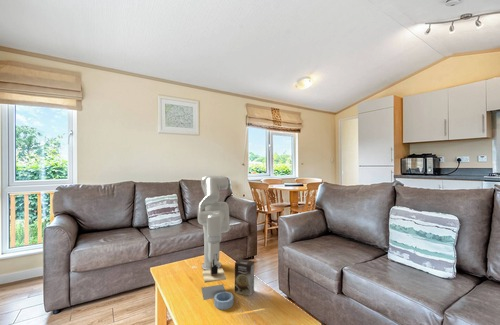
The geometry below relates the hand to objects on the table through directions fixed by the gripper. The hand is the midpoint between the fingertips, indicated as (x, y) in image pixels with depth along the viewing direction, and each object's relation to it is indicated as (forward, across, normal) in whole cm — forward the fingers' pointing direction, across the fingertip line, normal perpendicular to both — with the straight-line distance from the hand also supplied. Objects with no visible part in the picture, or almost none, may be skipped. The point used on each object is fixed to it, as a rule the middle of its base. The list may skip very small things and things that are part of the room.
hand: (213, 271), depth 125 cm
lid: (+2, 0, 0) cm, 2 cm away
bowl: (+10, +13, +3) cm, 17 cm away
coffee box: (+11, +5, +15) cm, 20 cm away
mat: (+11, +1, 0) cm, 11 cm away
